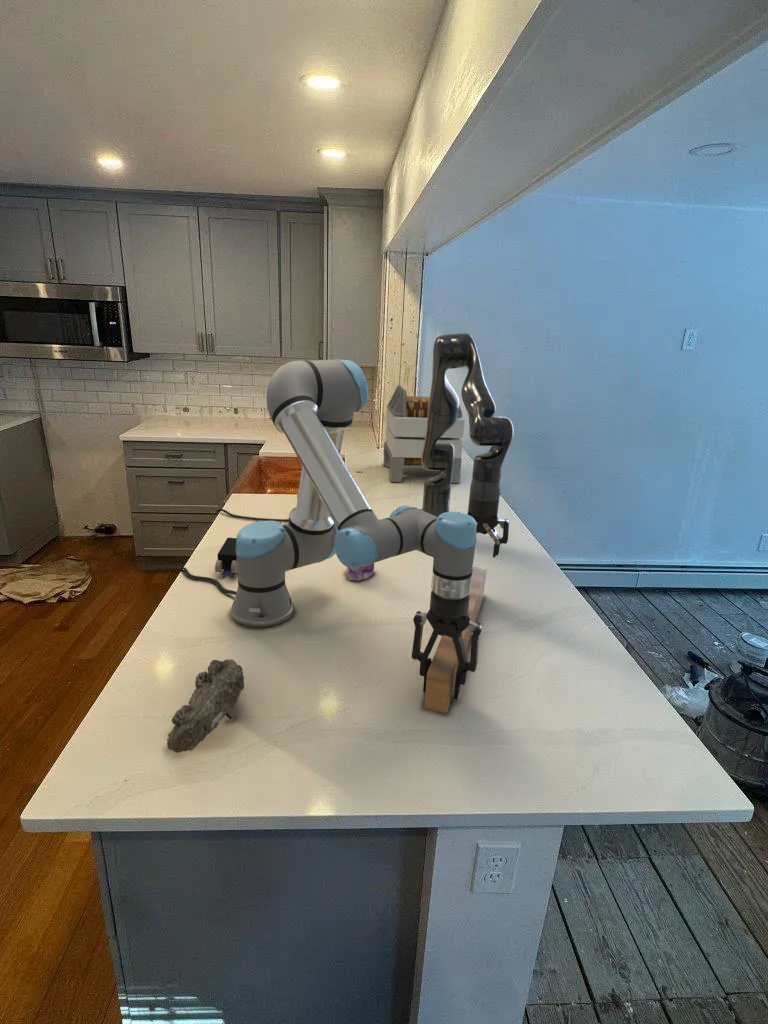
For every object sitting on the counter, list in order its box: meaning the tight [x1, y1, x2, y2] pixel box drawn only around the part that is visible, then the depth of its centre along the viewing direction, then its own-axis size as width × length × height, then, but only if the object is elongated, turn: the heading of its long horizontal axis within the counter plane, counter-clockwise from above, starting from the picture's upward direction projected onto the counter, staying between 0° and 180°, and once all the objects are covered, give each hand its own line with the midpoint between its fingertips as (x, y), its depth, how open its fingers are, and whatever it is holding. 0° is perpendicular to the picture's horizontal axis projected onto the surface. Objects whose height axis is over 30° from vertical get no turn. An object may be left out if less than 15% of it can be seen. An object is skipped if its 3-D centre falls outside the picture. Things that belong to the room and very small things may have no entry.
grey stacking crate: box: [383, 384, 465, 484], centre depth 268 cm, size 34×33×41 cm
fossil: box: [166, 658, 245, 754], centre depth 106 cm, size 22×10×15 cm
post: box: [423, 566, 487, 714], centre depth 134 cm, size 52×5×8 cm, turn 163°
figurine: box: [346, 563, 375, 582], centre depth 165 cm, size 9×10×15 cm
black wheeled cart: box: [214, 537, 237, 578], centre depth 166 cm, size 7×8×15 cm
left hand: (441, 691), depth 117 cm, fingers open, 6 cm apart
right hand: (478, 553), depth 149 cm, fingers open, 8 cm apart
